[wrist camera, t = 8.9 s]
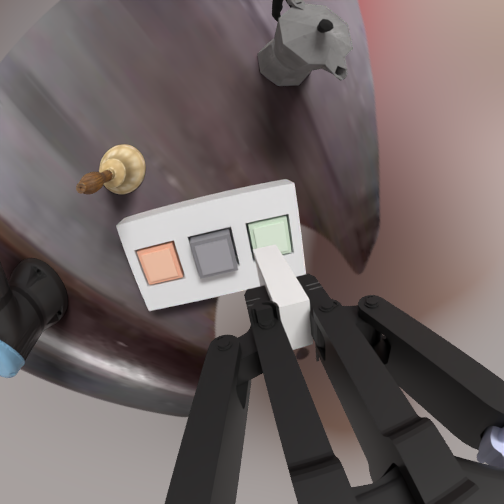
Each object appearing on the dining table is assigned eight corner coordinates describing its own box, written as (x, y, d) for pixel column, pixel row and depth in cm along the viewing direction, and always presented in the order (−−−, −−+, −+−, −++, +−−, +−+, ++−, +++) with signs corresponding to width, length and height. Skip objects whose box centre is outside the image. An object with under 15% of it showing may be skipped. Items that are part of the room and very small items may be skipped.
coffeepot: (326, 85, 39) (386, 64, 22) (279, 106, 39) (322, 87, 23) (281, 15, 32) (318, -37, 16) (232, 33, 33) (247, -22, 17)
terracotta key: (152, 276, 46) (148, 285, 43) (141, 245, 43) (136, 253, 40) (184, 269, 46) (182, 278, 43) (174, 236, 44) (171, 244, 41)
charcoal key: (200, 270, 44) (200, 279, 41) (191, 236, 42) (189, 244, 39) (236, 261, 45) (238, 271, 42) (228, 227, 42) (230, 234, 39)
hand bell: (154, 178, 41) (125, 199, 27) (113, 202, 41) (72, 233, 27) (132, 135, 38) (93, 133, 23) (92, 161, 38) (41, 174, 23)
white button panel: (153, 297, 49) (149, 310, 45) (124, 217, 43) (116, 225, 38) (298, 263, 51) (305, 275, 47) (286, 178, 44) (294, 183, 40)
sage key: (252, 253, 47) (255, 261, 44) (246, 219, 44) (248, 225, 41) (286, 245, 47) (292, 252, 44) (281, 212, 45) (287, 217, 42)
